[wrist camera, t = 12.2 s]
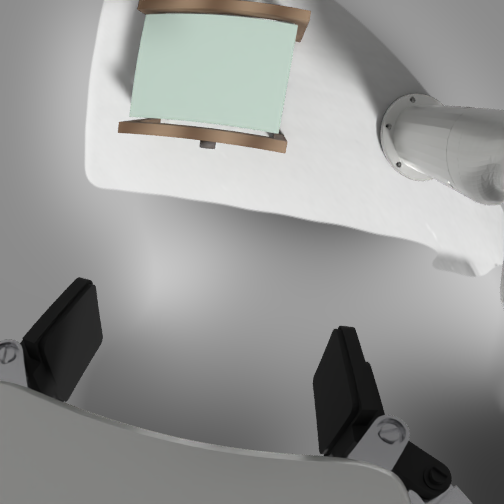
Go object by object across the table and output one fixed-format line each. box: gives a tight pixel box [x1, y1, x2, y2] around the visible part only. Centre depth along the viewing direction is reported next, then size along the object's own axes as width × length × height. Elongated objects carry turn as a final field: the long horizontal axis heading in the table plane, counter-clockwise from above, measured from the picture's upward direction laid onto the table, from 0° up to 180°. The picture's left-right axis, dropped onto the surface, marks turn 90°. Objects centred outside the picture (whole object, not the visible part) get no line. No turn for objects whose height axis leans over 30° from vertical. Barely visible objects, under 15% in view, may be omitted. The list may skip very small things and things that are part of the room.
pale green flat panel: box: [130, 14, 298, 134], centre depth 28 cm, size 16×12×2 cm
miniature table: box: [118, 0, 311, 153], centre depth 32 cm, size 18×17×10 cm
